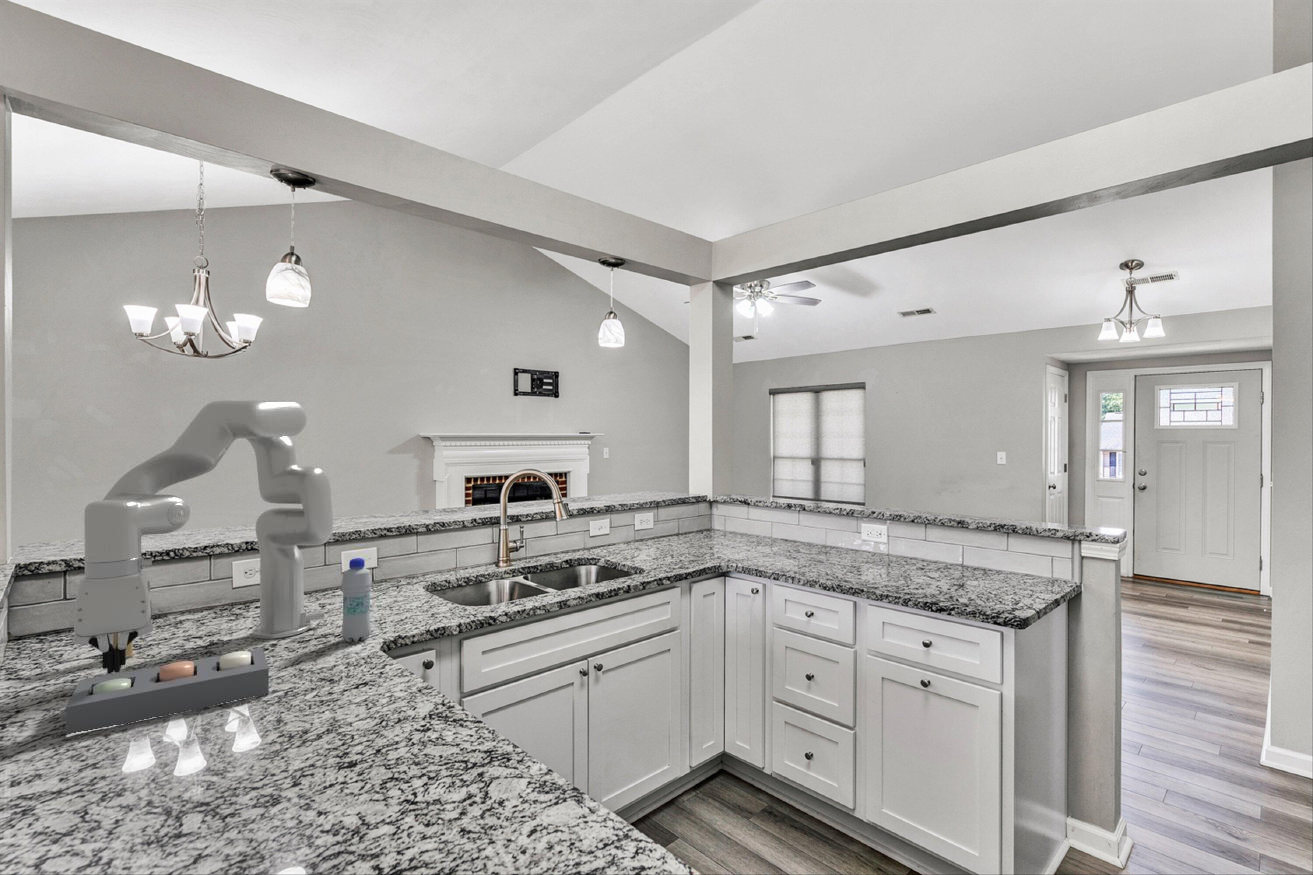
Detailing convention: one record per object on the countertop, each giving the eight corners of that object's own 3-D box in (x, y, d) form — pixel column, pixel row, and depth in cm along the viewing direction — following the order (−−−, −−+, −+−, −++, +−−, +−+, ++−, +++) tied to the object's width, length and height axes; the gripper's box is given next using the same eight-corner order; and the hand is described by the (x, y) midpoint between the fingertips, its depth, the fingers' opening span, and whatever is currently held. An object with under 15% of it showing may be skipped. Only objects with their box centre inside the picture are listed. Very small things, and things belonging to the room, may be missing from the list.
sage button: (132, 695, 110) (132, 676, 110) (129, 704, 106) (129, 684, 106) (95, 702, 107) (95, 682, 107) (90, 712, 103) (90, 691, 103)
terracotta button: (193, 677, 115) (193, 659, 115) (193, 685, 111) (193, 666, 111) (160, 683, 112) (160, 664, 112) (158, 692, 108) (158, 673, 108)
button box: (262, 671, 126) (263, 648, 126) (268, 694, 115) (268, 668, 115) (79, 707, 109) (80, 679, 109) (65, 737, 98) (65, 707, 98)
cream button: (249, 666, 121) (250, 649, 121) (251, 674, 117) (251, 656, 117) (219, 672, 118) (219, 654, 118) (219, 680, 114) (220, 662, 114)
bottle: (377, 636, 149) (378, 556, 149) (356, 645, 143) (356, 561, 143) (356, 633, 151) (357, 554, 151) (334, 642, 145) (334, 559, 145)
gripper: (168, 559, 114) (169, 655, 114) (59, 570, 105) (60, 674, 105) (166, 566, 108) (167, 667, 108) (50, 579, 99) (51, 688, 99)
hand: (114, 670), depth 107 cm, fingers closed
